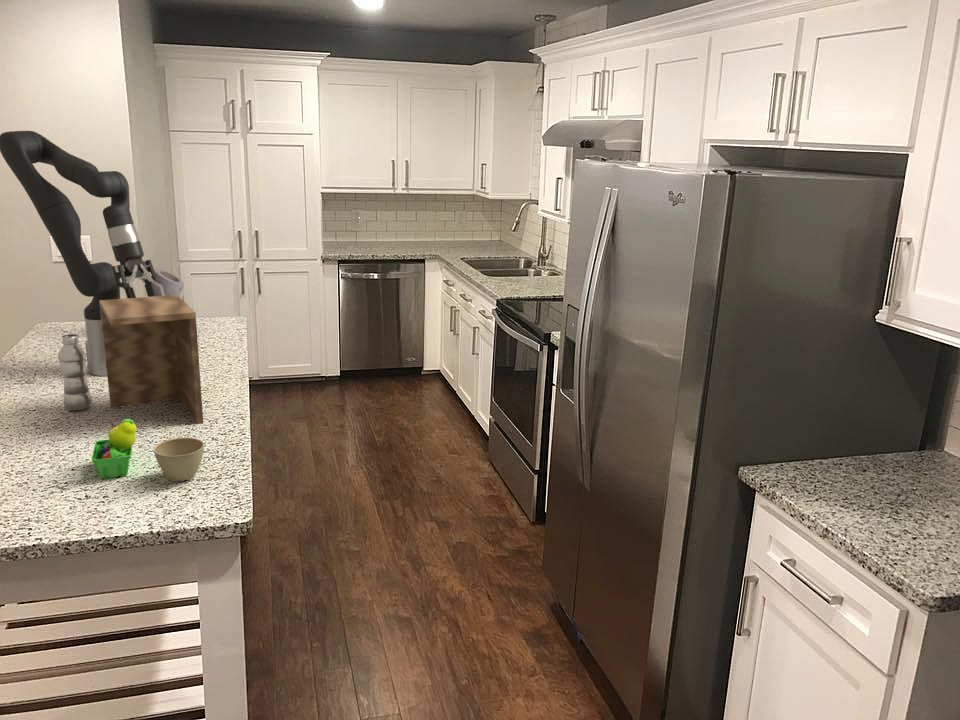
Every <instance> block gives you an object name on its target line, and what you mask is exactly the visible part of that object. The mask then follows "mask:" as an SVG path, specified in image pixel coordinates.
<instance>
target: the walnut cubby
mask: <svg viewBox="0 0 960 720" xmlns="http://www.w3.org/2000/svg"><path fill="white" fill-rule="evenodd" d="M99 304H100V313H101V322H102V332H103V341H104V350H105V360H106V369H107V376H106V378H107V387H108V388H107V389H108V396H109V404H110V405H109V406H110V409H115V408H114V407H117V408H122V407H121V406H124V407H130V406H129V405H132V406H137V404H139V405H146V404H152V403H153V404H154V403H161V402H167V401H168V402H169V401H175V400H181V402H182V404H183V405H184V406H185V408H186V409H187V411H188V412H189V414H190V415H191V417H192V418H193V420H194V421H195V422H196V424H197V425H199V424H204V414H203V399H202V398H203V396H202V385H201V372H200V371H201V370H200V357H199V343H198V342H199V341H198V337H197V331H198V329H197V328H198V326H197V316H196V311H195V310H193V308H191V306H190V305H189V304H188V303H186V302H185V300H184V301H183V300H182V299H181V298H180V297H179V296H178V295H169V296H155V297H148V296H142V297H136V298H127V297H126V298H120V299H112V300H99ZM187 304H188V305H189V306H190V307H189V306H188V305H187ZM145 403H146V404H145Z"/></svg>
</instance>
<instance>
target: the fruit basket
mask: <svg viewBox="0 0 960 720" xmlns="http://www.w3.org/2000/svg"><path fill="white" fill-rule="evenodd" d="M134 422H135V421H134V420H132V419H130V418H124V419H123V420H121V422H120V423H119V424H118V425H117V426H114V428H112V429H111V430H110V431H109V432H108V436H107V437H108V439H102V440H97V441H95V443H94V448H93V452H92V455H91V462H92V464H93V465H94V466H95V469H96V471H97V474H98V476H99V478H100V479H101V478H105V479H110V478H109V477H114V478H119V477H118V476H120V477H127V476H128V473H129V467H130V461H131V460H130V459H131V458H132V452H133V451H132V450H133V445H134V444H135V443H136V438H137V433H136V432H137V426H136V424H135V423H134ZM126 475H127V476H126ZM106 477H108V478H106Z"/></svg>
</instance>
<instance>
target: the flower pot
mask: <svg viewBox="0 0 960 720" xmlns="http://www.w3.org/2000/svg"><path fill="white" fill-rule="evenodd" d="M204 449H205V443H204V442H203V440H201V439H198V438H195V437H177V438H170V439H167V440H165V441H162V442H160V443H158V444H157V445H155V446H154V448H153V454H154V456H155V459H156V461H157V464H158V466H159V469H161V471H162V473H164V475H165V476H166V477H167V478H168V479H169V481H171V480H173V481H172V482H175V481H182V482H185V481H184V480H187V481H189V480H188V479H190V478H192V477H193V478H194V477H195V476H196V474H197V472H198V470H199V468H200V465H201V463H202V460H203V456H204ZM193 478H192V479H193ZM190 480H191V479H190Z"/></svg>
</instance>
